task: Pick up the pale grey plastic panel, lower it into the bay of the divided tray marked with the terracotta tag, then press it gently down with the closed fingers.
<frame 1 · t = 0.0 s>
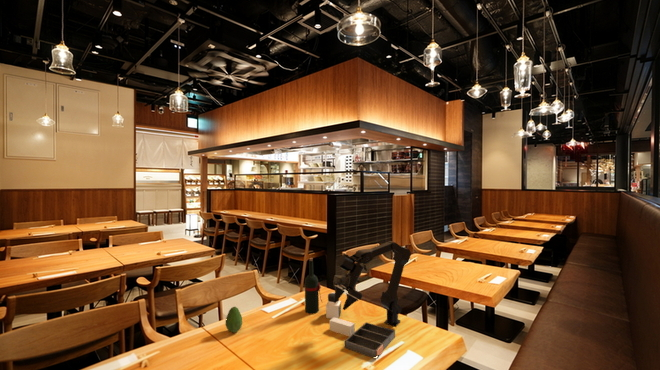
hand: (338, 305, 134), 15 cm above the table, tool tilted 35°, fingers open, 9 cm apart
wine bottle: (314, 311, 164), on the table
avocado: (234, 331, 142), on the table
medicine bottle: (333, 316, 157), on the table
divided tray: (370, 342, 130), on the table
blanking panel: (342, 332, 140), on the table
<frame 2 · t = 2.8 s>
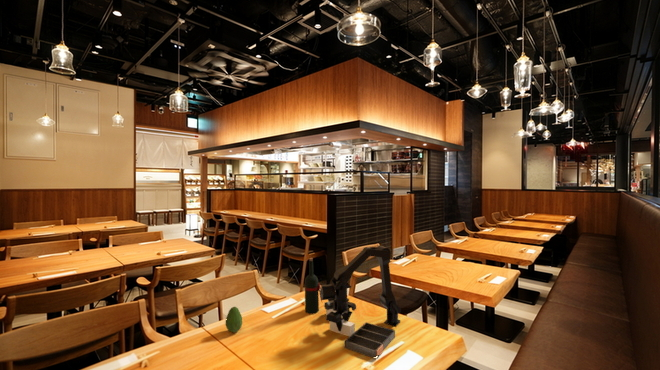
hand: (342, 329, 140), 1 cm above the table, tool pointing down, fingers closed on blanking panel, 4 cm apart
blanking panel: (342, 331, 140), on the table, touching gripper
everything else where it was.
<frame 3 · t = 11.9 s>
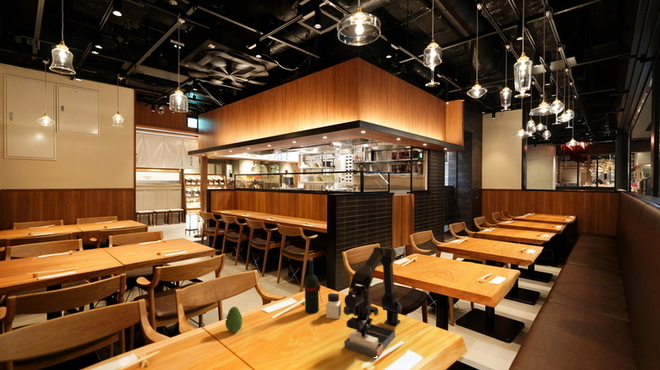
hand: (363, 336, 125), 5 cm above the table, tool pointing down, fingers closed, pressing on blanking panel
blanking panel: (363, 347, 125), resting on divided tray, touching gripper
everything else where it was.
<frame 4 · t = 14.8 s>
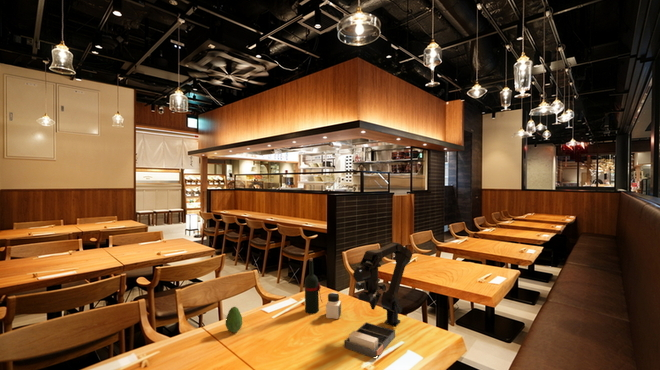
hand: (373, 309, 139), 11 cm above the table, tool pointing down, fingers closed
blanking panel: (363, 347, 125), resting on divided tray
everything else where it was.
at the end: blanking panel 0.1 cm from the target spot on the divided tray, point 0.5 cm above the divided tray's base; blanking panel tilted 0°; the gripper is holding nothing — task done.
